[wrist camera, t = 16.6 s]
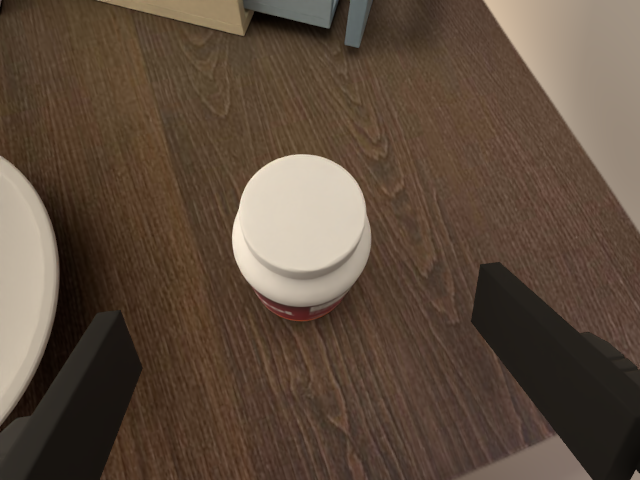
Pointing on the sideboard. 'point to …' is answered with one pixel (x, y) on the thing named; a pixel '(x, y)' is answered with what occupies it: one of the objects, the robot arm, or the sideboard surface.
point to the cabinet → (197, 12)
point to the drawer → (317, 14)
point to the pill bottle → (301, 235)
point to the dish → (24, 284)
